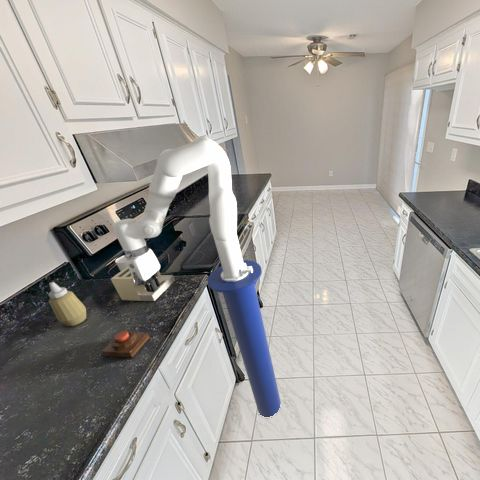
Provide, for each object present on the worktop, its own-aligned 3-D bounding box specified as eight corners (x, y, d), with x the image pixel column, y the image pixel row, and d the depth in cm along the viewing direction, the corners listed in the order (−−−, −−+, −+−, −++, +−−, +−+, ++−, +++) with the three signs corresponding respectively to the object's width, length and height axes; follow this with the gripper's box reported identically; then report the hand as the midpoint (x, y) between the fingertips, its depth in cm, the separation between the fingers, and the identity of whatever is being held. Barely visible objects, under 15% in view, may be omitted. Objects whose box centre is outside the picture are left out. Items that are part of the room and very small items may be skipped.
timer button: (132, 334, 84) (130, 330, 83) (123, 343, 81) (121, 339, 80) (122, 334, 84) (120, 330, 83) (113, 342, 81) (111, 339, 80)
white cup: (146, 273, 123) (138, 255, 119) (130, 282, 117) (121, 264, 113) (136, 270, 127) (128, 252, 122) (120, 279, 120) (111, 261, 116)
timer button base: (149, 337, 87) (145, 328, 85) (132, 357, 80) (127, 348, 78) (123, 336, 88) (118, 327, 86) (104, 356, 81) (98, 347, 79)
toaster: (175, 280, 116) (167, 260, 111) (154, 301, 104) (144, 279, 99) (145, 280, 118) (136, 259, 113) (121, 300, 106) (110, 278, 101)
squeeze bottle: (74, 314, 100) (49, 277, 92) (95, 312, 100) (72, 275, 92) (57, 330, 93) (28, 291, 84) (79, 328, 93) (53, 289, 85)
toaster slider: (159, 287, 107) (155, 277, 104) (155, 291, 104) (150, 281, 102) (153, 287, 107) (149, 277, 105) (149, 291, 105) (144, 281, 102)
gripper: (129, 262, 90) (149, 302, 98) (159, 240, 104) (174, 277, 112) (110, 262, 90) (131, 301, 99) (142, 240, 105) (158, 277, 113)
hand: (154, 288), depth 106 cm, fingers closed on toaster slider, 2 cm apart
